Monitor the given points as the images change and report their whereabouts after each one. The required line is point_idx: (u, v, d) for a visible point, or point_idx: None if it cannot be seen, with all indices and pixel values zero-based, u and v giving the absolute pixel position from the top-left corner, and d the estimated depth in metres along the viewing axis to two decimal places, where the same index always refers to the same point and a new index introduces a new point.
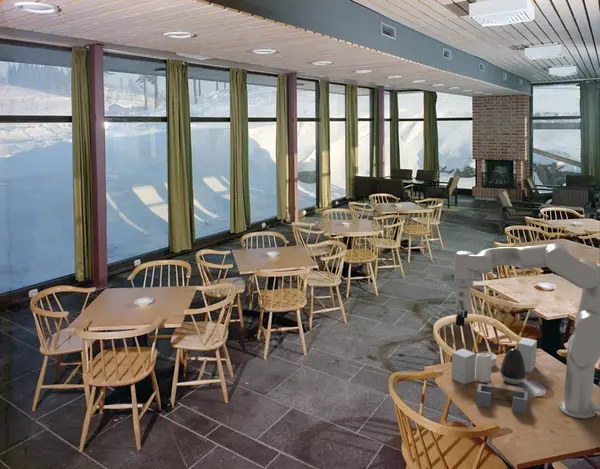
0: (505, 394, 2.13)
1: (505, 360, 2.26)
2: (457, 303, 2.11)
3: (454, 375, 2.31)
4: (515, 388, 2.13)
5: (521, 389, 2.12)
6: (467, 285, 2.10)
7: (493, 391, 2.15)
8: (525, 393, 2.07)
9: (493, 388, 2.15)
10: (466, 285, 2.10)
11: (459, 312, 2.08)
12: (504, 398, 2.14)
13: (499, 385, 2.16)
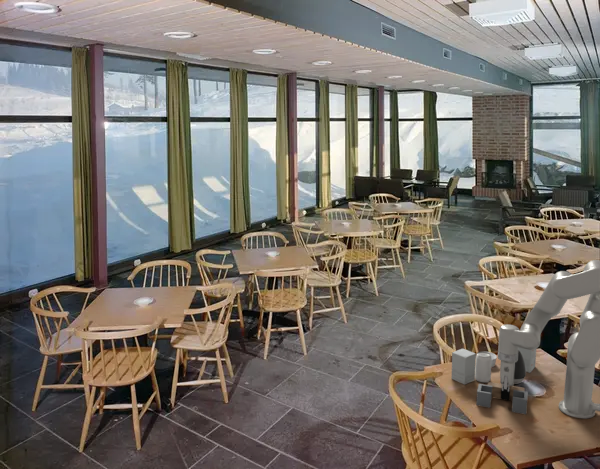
0: None
1: None
2: (502, 378, 2.09)
3: (454, 375, 2.31)
4: (515, 388, 2.13)
5: (521, 389, 2.12)
6: (512, 360, 2.08)
7: (493, 391, 2.15)
8: (525, 393, 2.07)
9: (493, 388, 2.15)
10: (511, 360, 2.08)
11: (505, 389, 2.09)
12: None
13: (499, 385, 2.16)
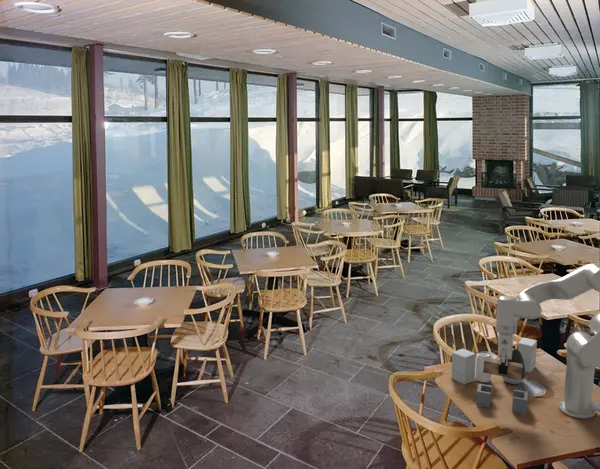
0: None
1: None
2: (500, 351, 2.01)
3: (454, 375, 2.31)
4: (513, 364, 2.05)
5: (519, 365, 2.04)
6: (511, 332, 2.00)
7: (490, 366, 2.07)
8: (525, 393, 2.07)
9: (490, 363, 2.06)
10: (510, 332, 2.00)
11: (502, 363, 2.01)
12: (501, 374, 2.05)
13: (496, 360, 2.07)
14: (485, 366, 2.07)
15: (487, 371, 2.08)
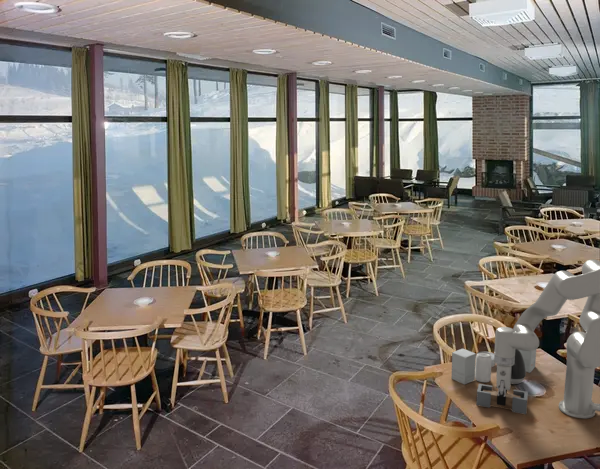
0: None
1: None
2: (498, 382, 2.03)
3: (454, 375, 2.31)
4: (511, 395, 2.07)
5: (517, 396, 2.07)
6: (509, 364, 2.02)
7: None
8: (525, 393, 2.07)
9: None
10: (508, 364, 2.02)
11: (501, 393, 2.01)
12: (500, 406, 2.08)
13: (494, 392, 2.10)
14: None
15: None
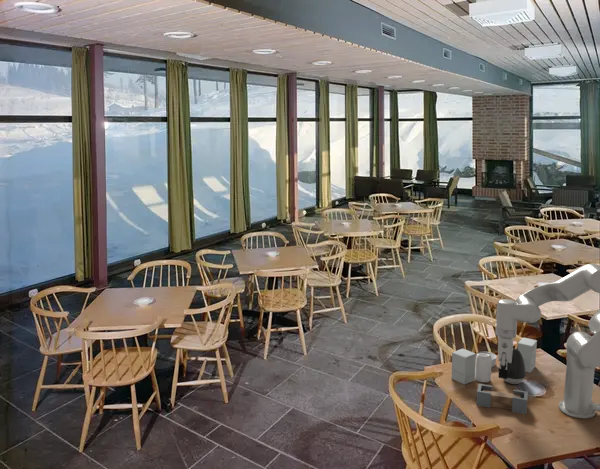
0: (501, 402, 2.08)
1: None
2: (500, 354, 2.01)
3: (454, 375, 2.31)
4: (511, 395, 2.08)
5: (517, 396, 2.07)
6: (510, 336, 2.00)
7: None
8: (525, 393, 2.07)
9: None
10: (509, 336, 2.00)
11: (503, 366, 2.00)
12: (500, 406, 2.08)
13: (494, 393, 2.10)
14: None
15: None
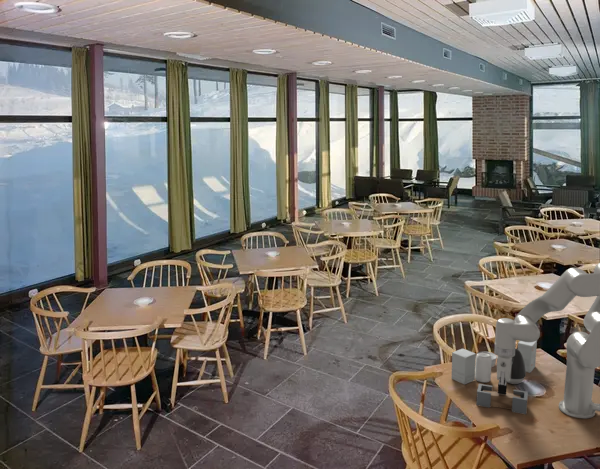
0: (501, 402, 2.08)
1: None
2: (499, 373, 2.03)
3: (454, 375, 2.31)
4: (511, 395, 2.08)
5: (517, 396, 2.07)
6: (509, 355, 2.01)
7: None
8: (525, 393, 2.07)
9: None
10: (508, 355, 2.01)
11: None
12: (500, 406, 2.08)
13: (494, 393, 2.10)
14: None
15: None
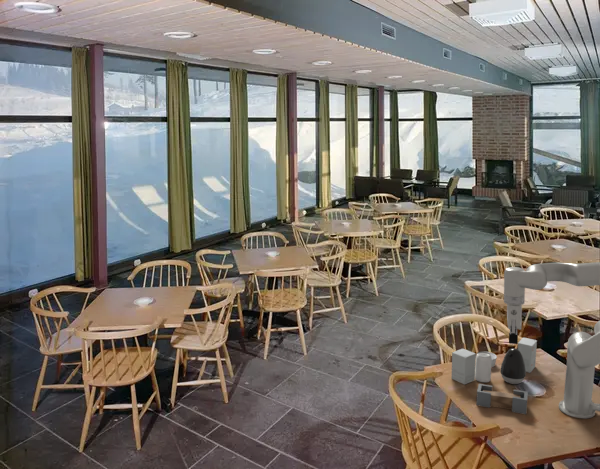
0: (501, 402, 2.08)
1: (505, 360, 2.26)
2: (509, 322, 2.03)
3: (454, 375, 2.31)
4: (511, 395, 2.08)
5: (517, 396, 2.07)
6: (519, 302, 2.02)
7: None
8: (525, 393, 2.07)
9: None
10: (518, 303, 2.02)
11: (513, 332, 2.04)
12: (500, 406, 2.08)
13: (494, 393, 2.10)
14: None
15: None
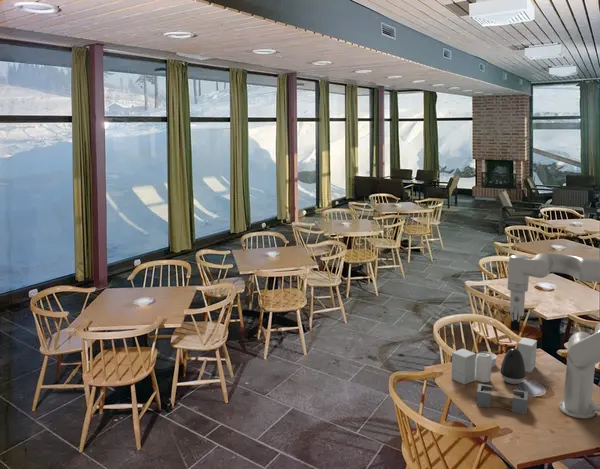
0: (500, 401, 2.08)
1: (505, 360, 2.26)
2: (512, 308, 2.05)
3: (454, 375, 2.31)
4: (511, 395, 2.08)
5: (517, 396, 2.07)
6: (522, 290, 2.03)
7: None
8: (525, 393, 2.07)
9: None
10: (521, 290, 2.03)
11: None
12: (500, 406, 2.08)
13: (494, 392, 2.10)
14: None
15: None
